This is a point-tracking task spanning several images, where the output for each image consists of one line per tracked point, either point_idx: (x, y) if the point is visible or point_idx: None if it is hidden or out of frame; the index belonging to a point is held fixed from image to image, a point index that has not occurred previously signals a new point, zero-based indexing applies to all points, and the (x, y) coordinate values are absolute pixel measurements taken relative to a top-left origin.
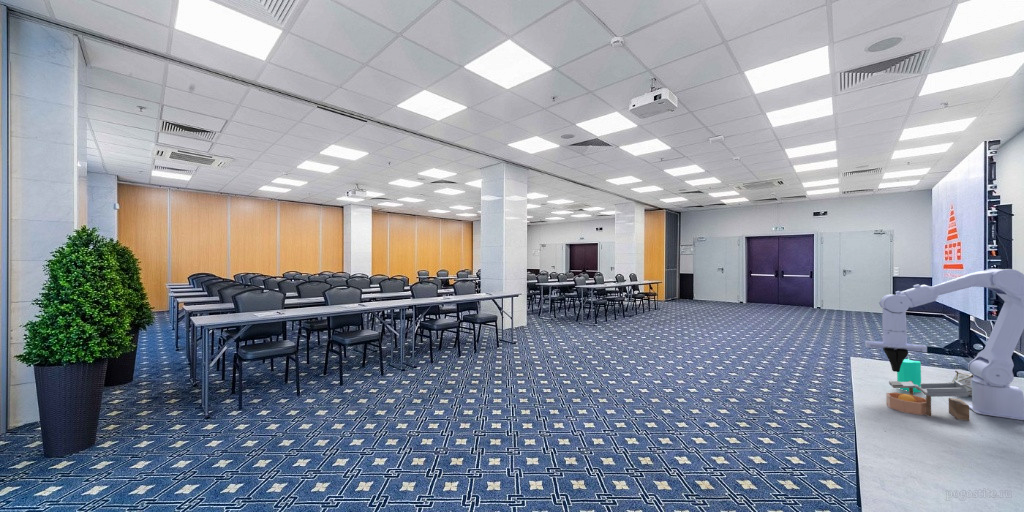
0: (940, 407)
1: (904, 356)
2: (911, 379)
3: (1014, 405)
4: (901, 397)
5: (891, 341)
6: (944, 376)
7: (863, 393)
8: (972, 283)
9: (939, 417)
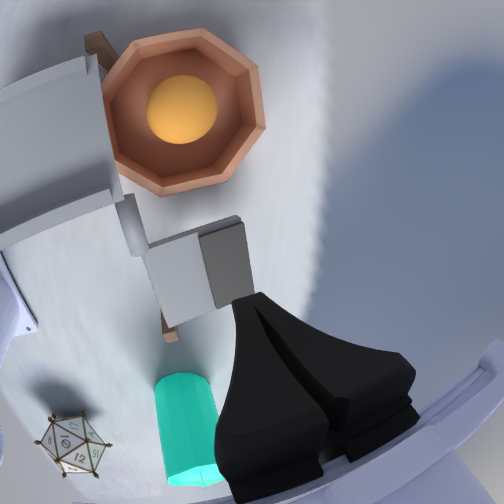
0: (78, 245)
1: (237, 403)
2: (179, 409)
3: None
4: (206, 86)
5: (461, 492)
6: (149, 484)
7: (310, 236)
8: None
9: None
